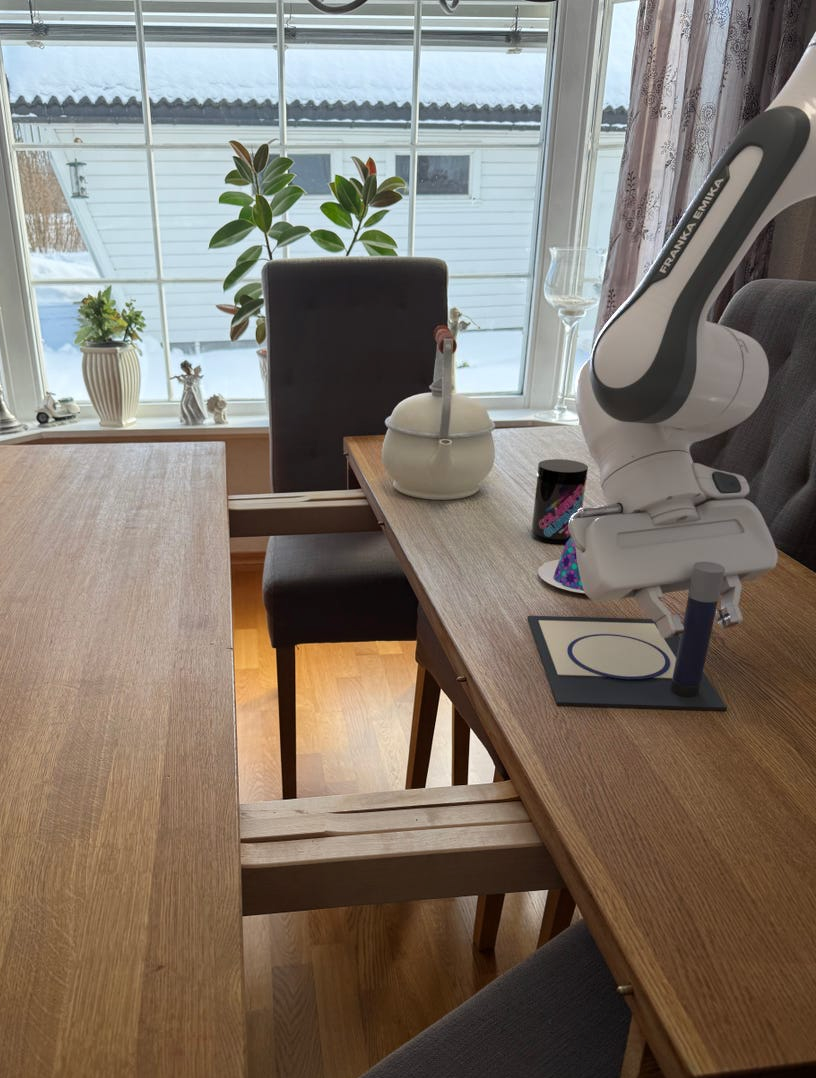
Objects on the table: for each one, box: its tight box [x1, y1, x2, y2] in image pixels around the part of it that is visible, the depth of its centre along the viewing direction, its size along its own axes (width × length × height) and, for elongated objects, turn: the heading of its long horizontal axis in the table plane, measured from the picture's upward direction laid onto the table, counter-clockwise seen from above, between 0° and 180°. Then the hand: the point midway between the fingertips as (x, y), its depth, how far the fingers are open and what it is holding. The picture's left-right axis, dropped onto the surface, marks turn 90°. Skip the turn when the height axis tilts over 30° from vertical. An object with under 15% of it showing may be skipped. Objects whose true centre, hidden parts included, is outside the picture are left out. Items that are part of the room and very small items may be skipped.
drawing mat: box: [527, 615, 728, 712], centre depth 96 cm, size 16×20×1 cm
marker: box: [671, 562, 725, 697], centre depth 87 cm, size 3×3×13 cm
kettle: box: [381, 325, 496, 501], centre depth 145 cm, size 25×18×25 cm
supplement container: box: [531, 458, 589, 545], centre depth 128 cm, size 7×7×10 cm
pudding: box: [537, 538, 585, 594], centre depth 115 cm, size 12×12×5 cm
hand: (703, 630), depth 86 cm, fingers open, 5 cm apart
